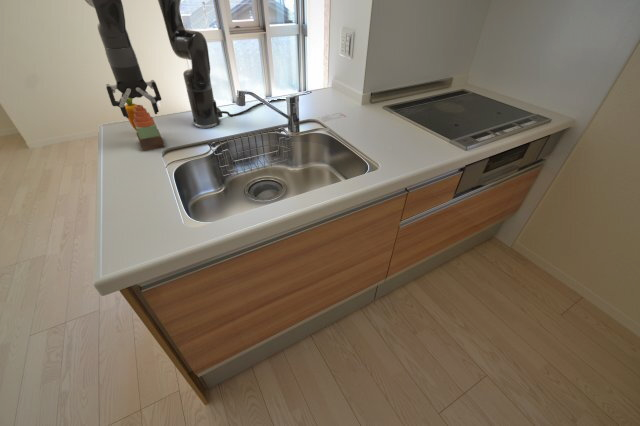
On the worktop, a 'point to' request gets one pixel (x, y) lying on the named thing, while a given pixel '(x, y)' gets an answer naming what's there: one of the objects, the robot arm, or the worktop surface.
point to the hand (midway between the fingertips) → (142, 115)
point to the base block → (151, 142)
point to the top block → (147, 132)
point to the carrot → (131, 111)
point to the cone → (142, 117)
